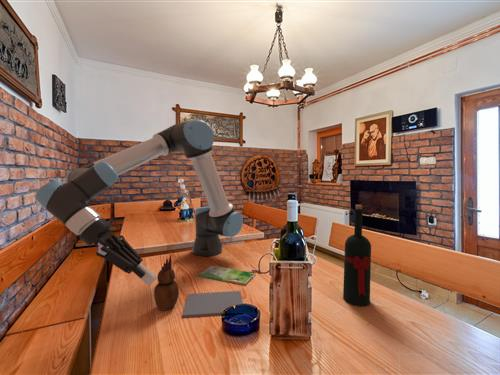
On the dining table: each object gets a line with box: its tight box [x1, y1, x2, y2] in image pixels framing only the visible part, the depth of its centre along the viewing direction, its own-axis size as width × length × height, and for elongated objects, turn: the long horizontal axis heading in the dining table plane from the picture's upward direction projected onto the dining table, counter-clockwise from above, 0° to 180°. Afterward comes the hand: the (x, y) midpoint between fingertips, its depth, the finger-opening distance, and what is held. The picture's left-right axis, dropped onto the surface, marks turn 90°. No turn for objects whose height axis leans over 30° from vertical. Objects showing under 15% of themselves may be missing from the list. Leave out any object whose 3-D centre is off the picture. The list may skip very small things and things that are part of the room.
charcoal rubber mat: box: [182, 290, 244, 318], centre depth 74 cm, size 17×12×1 cm
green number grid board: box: [198, 265, 257, 287], centre depth 94 cm, size 20×1×10 cm
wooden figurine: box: [153, 254, 180, 311], centre depth 72 cm, size 7×6×15 cm
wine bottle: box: [342, 204, 372, 307], centre depth 74 cm, size 8×10×30 cm
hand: (153, 281), depth 71 cm, fingers closed
